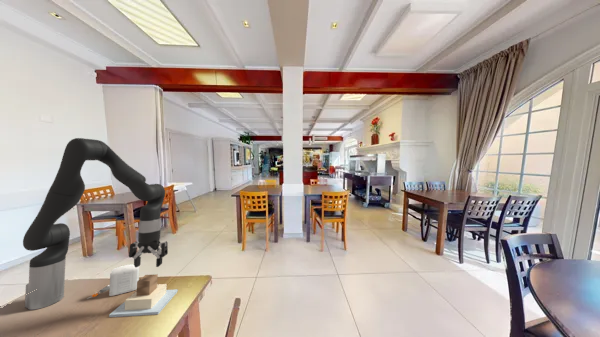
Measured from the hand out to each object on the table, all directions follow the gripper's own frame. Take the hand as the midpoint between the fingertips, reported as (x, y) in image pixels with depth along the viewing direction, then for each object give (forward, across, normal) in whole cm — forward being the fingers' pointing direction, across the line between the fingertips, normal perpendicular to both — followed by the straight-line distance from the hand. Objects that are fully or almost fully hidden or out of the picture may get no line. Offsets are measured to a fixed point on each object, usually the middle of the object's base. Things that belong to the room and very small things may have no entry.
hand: (148, 266), depth 80 cm
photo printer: (+16, -16, +9) cm, 25 cm away
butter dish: (+16, 0, 0) cm, 16 cm away
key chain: (+17, -26, +9) cm, 33 cm away
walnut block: (+11, 0, 0) cm, 11 cm away
